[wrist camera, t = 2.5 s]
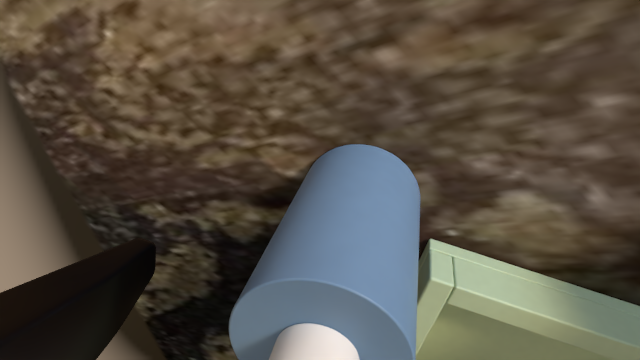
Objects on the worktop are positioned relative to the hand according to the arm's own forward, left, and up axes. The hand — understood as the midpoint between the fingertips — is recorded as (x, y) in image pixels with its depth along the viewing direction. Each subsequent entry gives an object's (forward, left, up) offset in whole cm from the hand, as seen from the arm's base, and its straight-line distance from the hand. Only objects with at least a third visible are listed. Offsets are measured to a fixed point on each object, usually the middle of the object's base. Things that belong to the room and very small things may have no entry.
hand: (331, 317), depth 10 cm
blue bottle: (0, 0, -5) cm, 5 cm away
